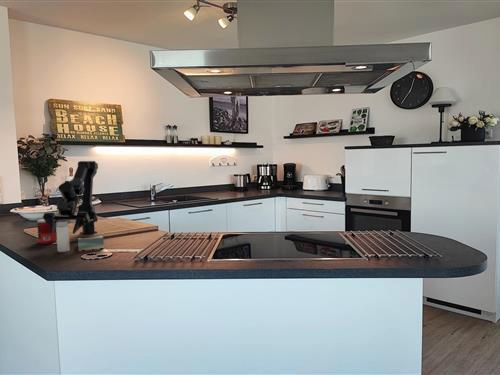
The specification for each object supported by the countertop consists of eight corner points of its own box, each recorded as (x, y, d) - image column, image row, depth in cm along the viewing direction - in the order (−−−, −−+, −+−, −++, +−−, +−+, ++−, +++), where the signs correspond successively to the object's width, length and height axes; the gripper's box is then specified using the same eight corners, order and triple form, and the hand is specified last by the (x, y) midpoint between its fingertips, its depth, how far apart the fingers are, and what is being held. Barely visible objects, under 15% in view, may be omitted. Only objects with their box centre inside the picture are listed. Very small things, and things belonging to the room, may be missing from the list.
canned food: (60, 240, 183) (59, 218, 182) (45, 244, 176) (44, 221, 175) (50, 239, 186) (48, 217, 185) (35, 243, 179) (33, 220, 178)
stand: (78, 245, 174) (77, 234, 174) (102, 243, 179) (101, 232, 178) (78, 251, 165) (78, 239, 164) (103, 248, 169) (103, 237, 168)
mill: (55, 250, 165) (53, 222, 164) (66, 248, 169) (64, 220, 168) (61, 252, 162) (59, 223, 161) (71, 250, 166) (70, 221, 165)
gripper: (43, 195, 167) (33, 224, 157) (86, 194, 169) (79, 222, 159) (51, 209, 176) (42, 238, 166) (92, 208, 178) (86, 236, 168)
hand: (62, 233), depth 165 cm, fingers open, 9 cm apart
